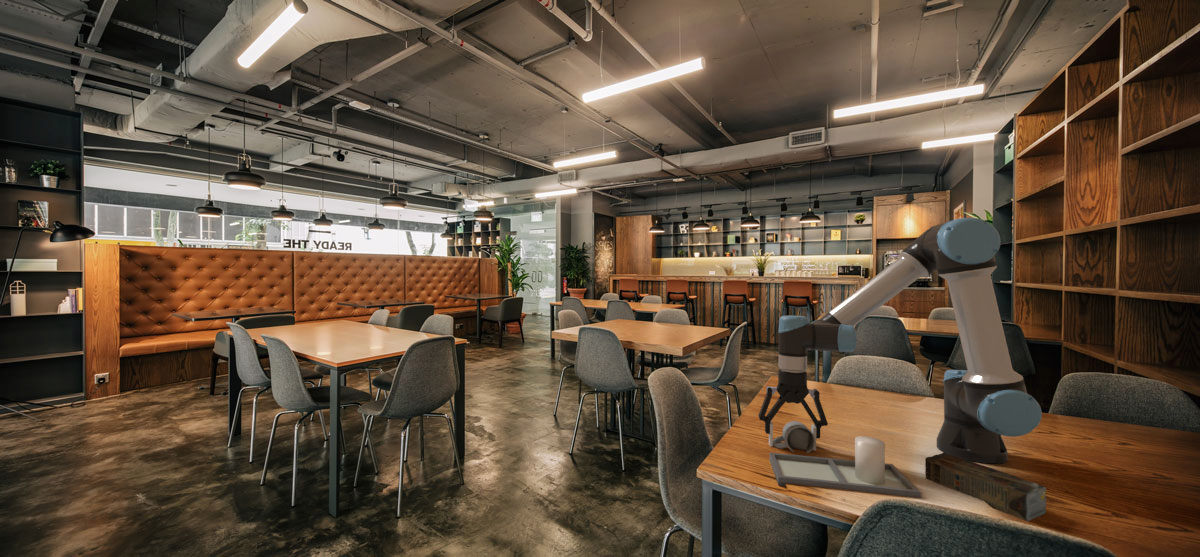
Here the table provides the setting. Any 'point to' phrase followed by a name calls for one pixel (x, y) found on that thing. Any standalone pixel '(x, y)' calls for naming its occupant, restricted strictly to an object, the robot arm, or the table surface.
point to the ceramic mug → (795, 437)
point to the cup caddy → (836, 475)
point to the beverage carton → (988, 485)
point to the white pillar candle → (870, 460)
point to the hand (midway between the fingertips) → (791, 447)
